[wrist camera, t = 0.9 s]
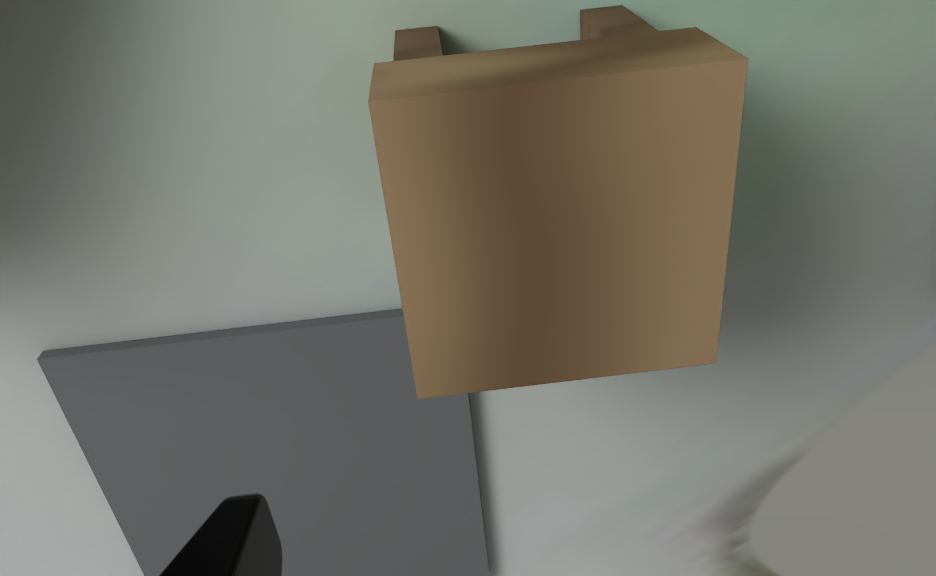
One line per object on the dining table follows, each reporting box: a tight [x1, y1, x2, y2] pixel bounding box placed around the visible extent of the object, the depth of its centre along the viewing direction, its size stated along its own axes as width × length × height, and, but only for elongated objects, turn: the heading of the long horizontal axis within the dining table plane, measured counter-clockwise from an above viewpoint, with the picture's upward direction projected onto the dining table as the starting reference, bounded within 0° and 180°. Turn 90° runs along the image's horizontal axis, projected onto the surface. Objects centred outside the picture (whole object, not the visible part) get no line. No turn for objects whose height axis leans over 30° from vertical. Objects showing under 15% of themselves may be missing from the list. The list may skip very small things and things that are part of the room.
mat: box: [37, 309, 490, 576], centre depth 24 cm, size 12×12×1 cm
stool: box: [368, 5, 748, 399], centre depth 16 cm, size 6×6×7 cm
